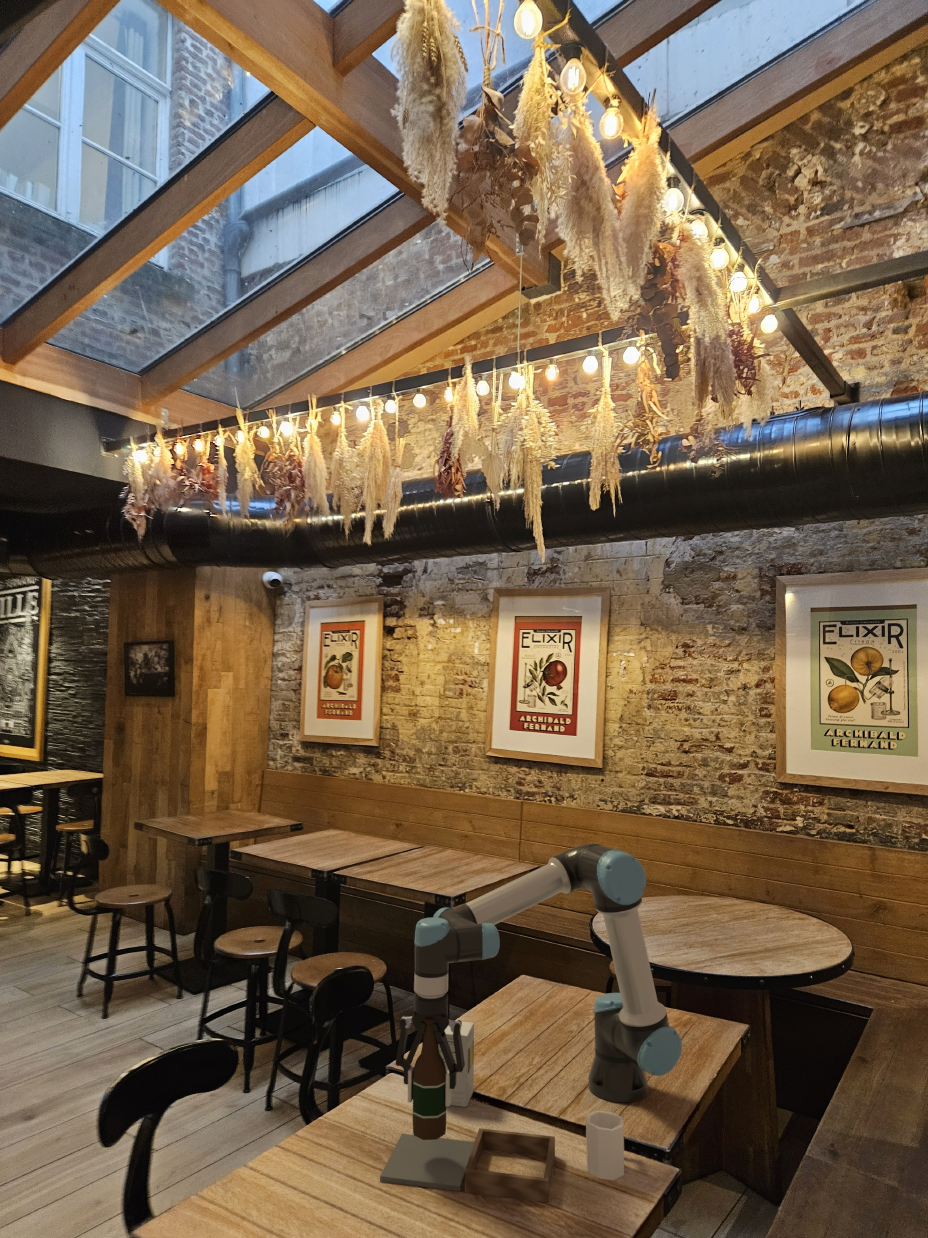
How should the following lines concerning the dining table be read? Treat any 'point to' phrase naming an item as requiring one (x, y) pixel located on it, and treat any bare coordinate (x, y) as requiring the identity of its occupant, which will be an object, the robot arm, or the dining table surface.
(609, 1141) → the mug
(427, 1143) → the slate pad
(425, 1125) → the beer bottle
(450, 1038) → the supplement box
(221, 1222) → the dining table surface
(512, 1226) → the dining table surface
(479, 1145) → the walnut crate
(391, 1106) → the dining table surface
